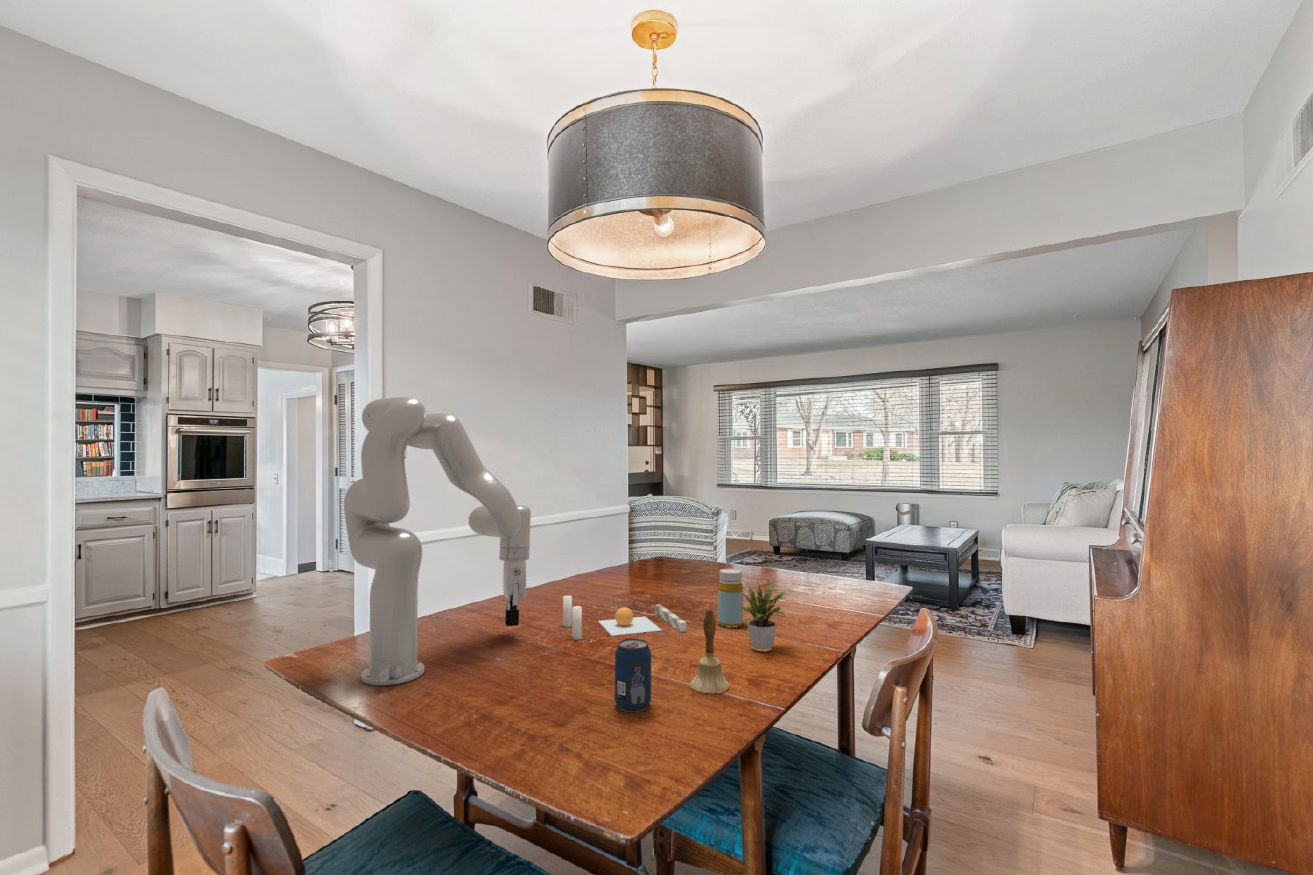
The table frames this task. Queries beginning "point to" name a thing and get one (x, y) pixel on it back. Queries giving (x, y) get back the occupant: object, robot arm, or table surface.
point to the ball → (624, 616)
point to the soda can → (633, 675)
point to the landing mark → (629, 626)
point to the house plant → (762, 617)
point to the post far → (567, 611)
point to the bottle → (730, 598)
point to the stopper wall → (670, 618)
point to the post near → (576, 622)
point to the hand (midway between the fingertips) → (511, 624)
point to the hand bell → (709, 662)
